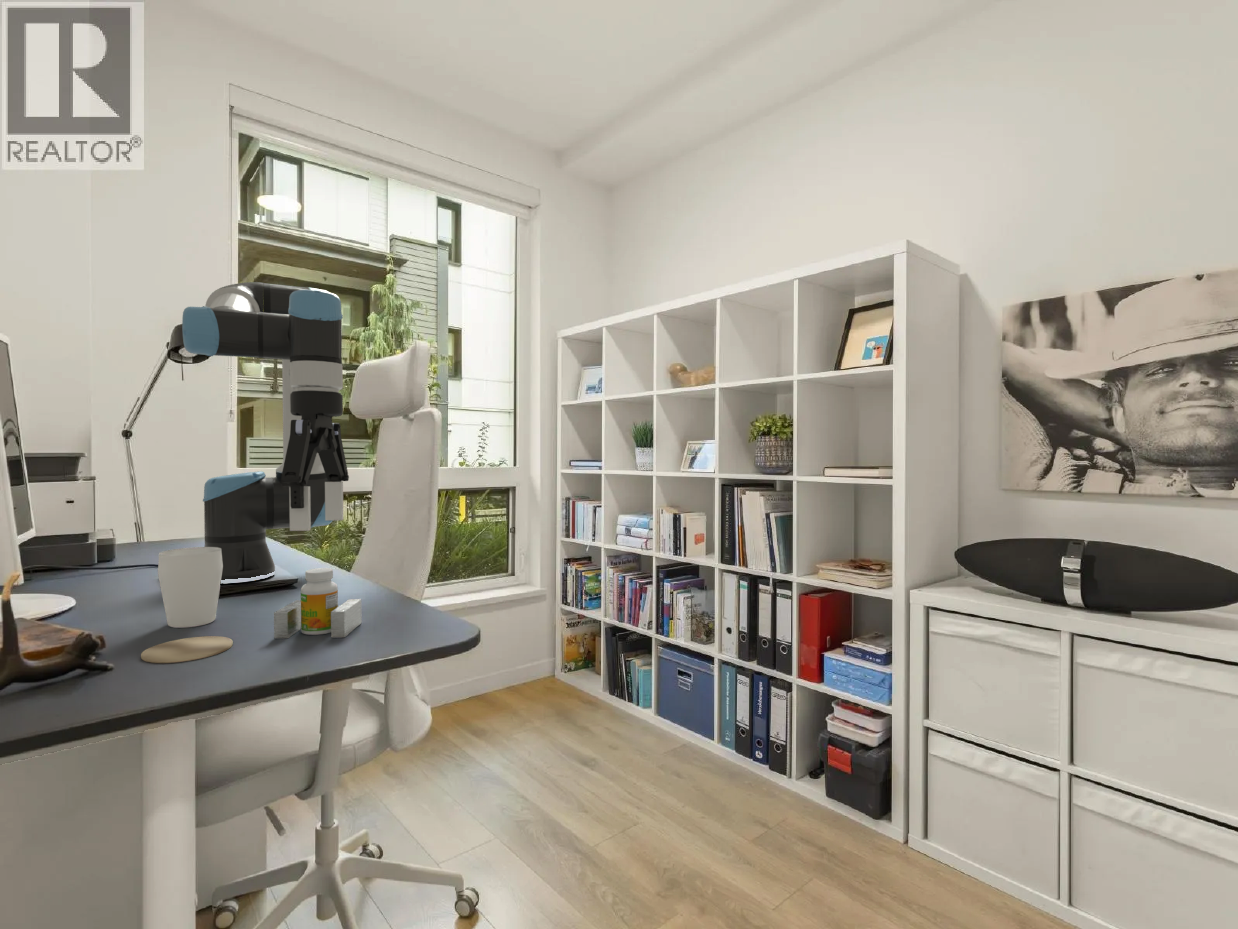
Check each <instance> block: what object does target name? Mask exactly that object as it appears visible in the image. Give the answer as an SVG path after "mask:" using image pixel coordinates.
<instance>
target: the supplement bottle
mask: <svg viewBox="0 0 1238 929" xmlns="http://www.w3.org/2000/svg"><path fill="white" fill-rule="evenodd" d="M304 577H305V581H306V583H305V584H303V585H302V586H301V588H300V600H301V630H300V631H301V633H302V634H303V635H307V636H308V635H310V636H318V635H320V636H321V635H326V634H331V612H332V611H333V610H334V609H336V608H337V607H339V592H338V590H339V588H338V584H337V583H336V582H334V581H333V578H334V570H333V569H332V568H330V567H321V568H320V567H319V568H318V567H317V568H310V569H307V570H306V571H305V576H304Z"/></svg>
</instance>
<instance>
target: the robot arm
mask: <svg viewBox="0 0 1238 929" xmlns="http://www.w3.org/2000/svg"><path fill="white" fill-rule="evenodd" d="M343 317H344V316H343V313H342V302H341V299H340V297H339V296H338V295H337V294H335V293H333V292H330V291H328V290H326V289H319V288H314V287H310V286H309V287H308V286H297V285H287V284H277V283H276V284H275V283H267V282H266V283H265V282H260V281H259V282H258V281H246V282H238V283H232V284H229V285H225V286H222V287H220V288H217V289H215V290H214V291H213V292H212V293H211V294H210V295H209V296H208V298H206V302H205V305H204V306H203V305H202V306H187V307H185V308H184V309H183V312H182V320H181V321H182V322H181V324H182V326H181V327H182V340H183V346H184V349H185V351H186V352H188V353H190V354H193V355H194V354H195V355H205V356H207V357H214V356H215V357H216V356H220V357H237V358H239V357H241V358H260V359H267V360H268V359H271V360H281V363H282V365H281V366H282V367H281V368H282V369H281V372H282V374H281V376H282V377H281V378H282V380H281V382H282V450H283V452H282V453H283V454H282V457H283V458H282V463H281V464H280V465H279V466H278V467H277V468H276V469H275V477H274V476H273V477H266V473H265V472H264V471H262V470H261V471H258V470H257V471H249V472H248V471H247V472H241V473H235V474H227V475H221V476H216V477H211V478H208V479H207V480H206V482H205V484H204V486H203V487H204V488H203V489H204V490H203V498H202V502H203V504H204V506H203V508H204V509H203V510H204V514H203V515H204V516H203V517H204V518H203V519H204V524H203V525H204V546H203V547H218V548H221V552H222V562H223V569H222V577H221V580H225V579H238V578H251V577H256V576H260V575H267V574H269V573H272V572H274V571H275V572H276V564H275V561H274V560H273V557H272V556H273V555H271V551H270V548H269V547H268V544H267V535H266V530H272V529H273V530H274V529H289V531H290V532H293V531H294V532H296V531H297V532H300V531H303V532H305V531H306V532H307V531H311V529H312V528H314V527H322V526H323V527H324V526H328V525H330V524H331V523H332V522H333V521H343V520H344V482H348V481H349V479H350V476H349V472H348V466H347V460H346V456H345V455H346V454H345V450H344V447H343V446H344V445H343V440H342V434H341V432H342V430H341V428H342V427H341V423H340V422H333V420H332V419H333V418H334V417H341V416H342V415H343V414H344V407H343V402H344V400H343V398H344V397H343V394H342V393H341V392H340V391H341V390H343V389H344V381H343V380H344V378H343V376H344V375H343V374H344V373H343V372H344V371H343V359H342V356H343V355H342V354H343V353H342V351H343V350H342V348H343V347H342V342H343V341H342V340H343V339H342V338H343V336H342V335H343V334H342V330H343V328H342V319H343Z"/></svg>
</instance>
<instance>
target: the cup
mask: <svg viewBox="0 0 1238 929" xmlns="http://www.w3.org/2000/svg"><path fill="white" fill-rule="evenodd" d="M222 569H223V562H222V552H221V548H218V547H204V546H195V547H181V548H174V549H168V550H167V549H166V550H163V551H160V552H159V553H158V566H157V576H158V580H159V585H160V590H161V597H162V600H163V606H164V612H165V618H166V623H167V626H168V627H171V628H177V629H182V628H183V629H186V628H194V627H200V626H204V625H207V624H210V623H212V622H214V621H216V619H217V618H216V617H217V611H218V603H219V597H220V591H221V590H220V589H221V585H220V584H221V577H222Z"/></svg>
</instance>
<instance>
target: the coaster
mask: <svg viewBox="0 0 1238 929" xmlns="http://www.w3.org/2000/svg"><path fill="white" fill-rule="evenodd" d="M233 642H234V641H233V639H231V638H229V637H227V636H220V635H219V636H217V635H216V636H215V635H205V636H193V637H186V638H179V639H174V640H170V641H166V642H162V643H159V644H158V643H157V644H156V645H153V646H150V647H148V648H146V649H145V650H143V651H142V652H141V654H140V658H141V660H142V661H143V662H146V663H151V664H174V663H184V662H190V661H196V660H200V659H201V660H202V659H206V658H209V657H212V656H217V655H219V654H221V653H224V652H226V651H227V650H229V649H231V648H232V647H233V646H234V645H233V644H234V643H233Z"/></svg>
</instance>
